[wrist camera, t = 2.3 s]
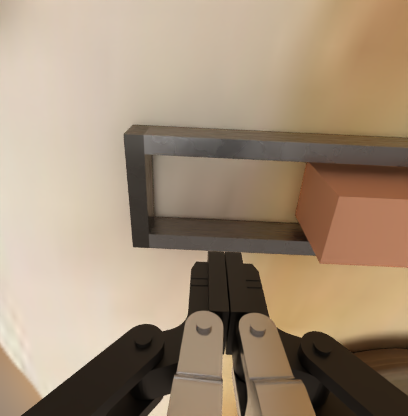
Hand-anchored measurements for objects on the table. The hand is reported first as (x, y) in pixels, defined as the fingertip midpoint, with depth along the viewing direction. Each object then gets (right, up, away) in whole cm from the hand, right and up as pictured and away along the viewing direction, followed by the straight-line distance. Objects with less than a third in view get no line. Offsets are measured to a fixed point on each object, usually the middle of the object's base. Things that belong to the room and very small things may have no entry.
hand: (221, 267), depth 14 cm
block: (+10, +4, +8) cm, 14 cm away
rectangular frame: (+6, +4, +8) cm, 11 cm away
